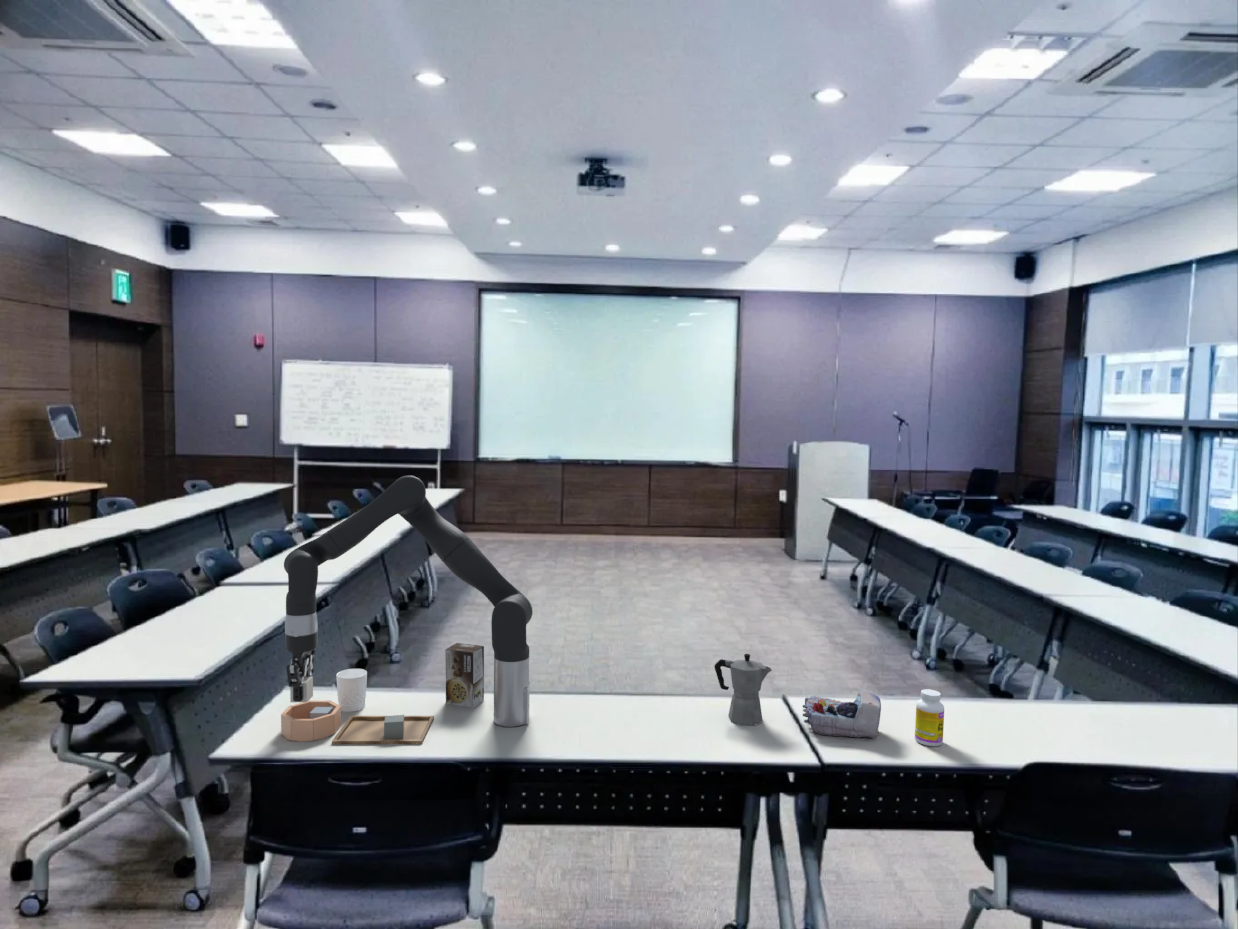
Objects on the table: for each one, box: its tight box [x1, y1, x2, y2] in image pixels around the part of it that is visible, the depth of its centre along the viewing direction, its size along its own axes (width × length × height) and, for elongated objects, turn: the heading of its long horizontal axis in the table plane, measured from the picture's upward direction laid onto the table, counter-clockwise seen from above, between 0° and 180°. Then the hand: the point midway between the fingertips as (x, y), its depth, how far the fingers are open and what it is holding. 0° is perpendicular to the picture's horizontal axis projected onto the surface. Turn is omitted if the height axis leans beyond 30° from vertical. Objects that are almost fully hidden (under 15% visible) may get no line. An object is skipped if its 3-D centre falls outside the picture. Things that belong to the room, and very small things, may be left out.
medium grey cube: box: [384, 714, 405, 740], centre depth 191 cm, size 5×4×4 cm
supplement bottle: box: [914, 688, 945, 747], centre depth 195 cm, size 7×7×13 cm
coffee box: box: [444, 642, 485, 708], centre depth 214 cm, size 9×6×16 cm
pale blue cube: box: [310, 707, 333, 719], centre depth 194 cm, size 4×4×5 cm
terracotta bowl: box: [280, 700, 342, 742], centre depth 193 cm, size 13×13×6 cm
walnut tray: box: [331, 715, 435, 746], centre depth 194 cm, size 22×16×1 cm
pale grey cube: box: [289, 676, 314, 703], centre depth 193 cm, size 4×4×5 cm
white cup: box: [336, 668, 368, 713], centre depth 209 cm, size 8×8×10 cm
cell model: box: [801, 688, 882, 739], centre depth 201 cm, size 13×11×20 cm
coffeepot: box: [714, 653, 772, 727], centre depth 207 cm, size 15×9×18 cm, turn 70°
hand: (302, 696), depth 193 cm, fingers open, 4 cm apart
